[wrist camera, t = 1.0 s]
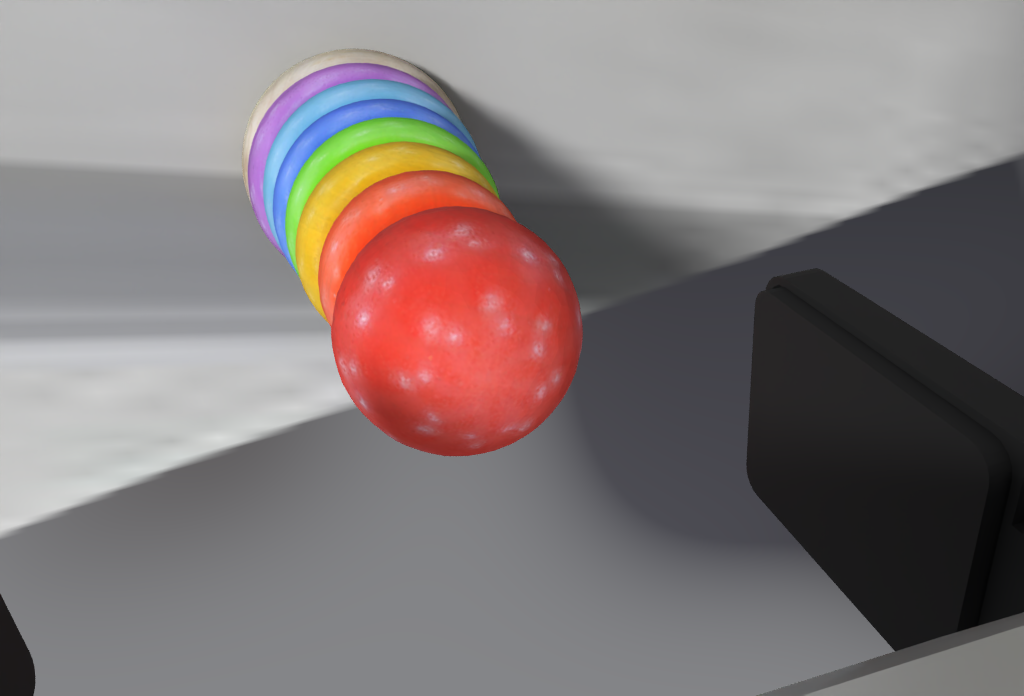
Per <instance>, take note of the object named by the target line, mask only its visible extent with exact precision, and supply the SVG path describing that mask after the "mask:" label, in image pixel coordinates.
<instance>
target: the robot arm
mask: <svg viewBox="0 0 1024 696" xmlns="http://www.w3.org/2000/svg"><path fill="white" fill-rule="evenodd" d="M751 373H752V374H751V391H750V410H749V427H748V446H747V474H748V478H749V481H750V484H751V486H752V488H753V490H754V492H755V493H756V494H757V496H758V497H759V498H760V499H761V500H762V501H763V502H764V503H765V505H766V506H767V507H768V508H769V509H770V510H771V511H772V513H773V514H774V515H775V516H776V517H777V518H778V519H779V521H780V522H781V523H782V524H783V525H784V526H785V527H786V528H787V529H788V531H789V532H790V533H791V534H792V535H793V536H794V538H795V539H796V540H797V541H798V542H799V543H800V544H801V545H802V546H803V548H804V549H805V550H806V551H807V552H808V553H809V554H810V556H811V557H812V558H813V559H814V560H815V561H816V562H817V564H818V565H819V566H820V567H821V568H822V569H823V570H824V571H825V572H826V573H827V575H828V576H829V577H830V578H831V579H832V580H833V582H834V583H835V584H836V585H837V586H838V587H839V588H840V590H841V591H842V592H843V593H844V594H845V595H846V596H847V597H848V598H849V600H850V601H851V602H852V603H853V604H854V605H855V606H856V608H857V609H858V610H859V611H860V612H861V613H862V614H863V615H864V617H865V618H866V619H867V620H868V621H869V622H870V623H871V625H872V626H873V627H874V628H875V629H876V630H877V631H878V632H879V633H880V635H881V636H882V637H883V638H884V639H885V640H886V641H887V643H888V644H889V645H890V646H891V647H892V648H893V649H894V650H895V652H892V653H889V654H886V655H883V656H880V657H877V658H873V659H870V660H867V661H864V662H861V663H858V664H855V665H851V666H848V667H845V668H842V669H839V670H835V671H833V672H829V673H826V674H823V675H820V676H817V677H813V678H811V679H807V680H804V681H801V682H798V683H794V684H791V685H789V686H785V687H782V688H779V689H776V690H772V691H769V692H766V693H763V694H760V695H757V696H1024V397H1023V396H1021V395H1020V394H1018V393H1017V392H1015V391H1013V390H1012V389H1010V388H1009V387H1007V386H1006V385H1004V384H1002V383H1001V382H999V381H997V380H996V379H994V378H993V377H991V376H990V375H988V374H986V373H985V372H983V371H982V370H980V369H979V368H977V367H975V366H974V365H972V364H970V363H969V362H967V361H966V360H964V359H963V358H961V357H960V356H958V355H956V354H955V353H953V352H952V351H950V350H948V349H947V348H945V347H944V346H942V345H940V344H939V343H937V342H936V341H934V340H932V339H931V338H929V337H928V336H926V335H925V334H923V333H921V332H920V331H918V330H917V329H915V328H913V327H912V326H910V325H909V324H907V323H905V322H904V321H902V320H901V319H899V318H898V317H896V316H894V315H893V314H891V313H890V312H888V311H886V310H885V309H883V308H882V307H880V306H878V305H877V304H875V303H874V302H872V301H871V300H869V299H867V298H866V297H864V296H863V295H861V294H859V293H858V292H856V291H855V290H853V289H851V288H850V287H848V286H847V285H845V284H844V283H842V282H840V281H839V280H837V279H836V278H834V277H832V276H831V275H829V274H828V273H826V272H824V271H823V270H820V269H817V268H816V269H810V270H805V271H801V272H796V273H791V274H786V275H782V276H777V277H773V278H772V279H771V280H770V281H769V283H768V285H767V287H766V291H761V292H760V293H759V294H758V296H757V298H756V303H755V317H754V334H753V353H752V372H751ZM34 689H35V669H34V664H33V660H32V657H31V655H30V652H29V650H28V648H27V646H26V644H25V642H24V640H23V638H22V636H21V634H20V632H19V630H18V628H17V626H16V624H15V622H14V620H13V618H12V616H11V614H10V612H9V610H8V608H7V606H6V604H5V602H4V600H3V598H2V596H1V594H0V696H33V694H34Z"/></svg>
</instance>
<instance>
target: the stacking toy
mask: <svg viewBox="0 0 1024 696" xmlns="http://www.w3.org/2000/svg"><path fill="white" fill-rule="evenodd" d="M242 169H243V178H244V183H245V187H246V191H247V194H248V197H249V200H250V202H251V204H252V207H253V210H254V212H255V215H256V217H257V220H258V222H259V224H260V226H261V228H262V229H263V231H264V233H265V234H266V236H267V237H268V239H269V240H270V241H271V243H272V244H273V245H274V246H275V247H276V248H277V249H278V251H279V252H280V253H281V254H282V255H283V256H284V257H286V258H287V260H288V262H289V263H290V265H291V266H292V268H293V269H294V270H295V272H296V273H297V274H298V276H299V277H300V279H301V282H302V285H303V287H304V290H305V292H306V294H307V295H308V297H309V299H310V301H311V302H312V304H313V305H314V307H315V308H316V310H317V311H318V312H319V313H320V315H321V316H322V317H323V318H324V319H325V320H326V321H327V322H328V323H329V324H330V326H331V337H332V347H333V352H334V357H335V361H336V365H337V368H338V372H339V375H340V377H341V380H342V383H343V385H344V387H345V388H346V390H347V392H348V394H349V395H350V397H351V399H352V400H353V402H354V403H355V405H356V406H357V407H358V409H359V410H360V411H361V412H362V413H363V414H364V415H365V416H366V417H367V418H368V419H369V420H370V421H371V422H372V423H373V424H374V425H376V426H377V427H378V428H379V429H380V430H382V431H383V432H384V433H386V434H387V435H388V436H390V437H391V438H393V439H394V440H396V441H398V442H400V443H402V444H404V445H406V446H409V447H412V448H414V449H417V450H420V451H424V452H428V453H432V454H437V455H443V456H469V455H476V454H481V453H486V452H490V451H494V450H497V449H500V448H502V447H505V446H507V445H510V444H512V443H514V442H516V441H517V440H519V439H521V438H523V437H524V436H526V435H527V434H529V433H530V432H532V431H533V430H534V429H536V428H537V427H538V426H539V425H540V424H541V423H542V422H544V420H545V419H546V418H547V417H548V416H549V415H550V414H551V413H552V412H553V410H554V409H555V408H556V407H557V405H558V404H559V403H560V402H561V400H562V398H563V397H564V395H565V394H566V392H567V390H568V388H569V386H570V384H571V382H572V379H573V377H574V375H575V372H576V368H577V364H578V360H579V356H580V352H581V347H582V337H583V329H582V319H581V312H580V305H579V301H578V298H577V294H576V291H575V288H574V285H573V283H572V281H571V278H570V276H569V274H568V272H567V270H566V268H565V267H564V265H563V264H562V262H561V260H560V259H559V258H558V257H557V255H556V254H555V253H554V252H553V251H552V250H551V248H550V247H549V246H548V245H547V244H546V243H545V242H544V241H543V240H542V239H541V238H539V237H538V236H537V235H536V234H535V233H533V232H532V231H530V230H529V229H527V228H526V227H524V226H523V225H521V224H519V223H517V222H516V220H515V218H514V217H513V215H512V214H511V212H510V211H509V209H508V208H507V207H506V206H505V205H504V204H503V202H502V201H501V200H500V198H499V194H498V190H497V188H496V185H495V182H494V180H493V178H492V176H491V174H490V172H489V170H488V169H487V167H486V166H485V164H484V163H483V161H482V160H481V158H480V156H479V153H478V151H477V148H476V146H475V143H474V141H473V139H472V137H471V136H470V134H469V132H468V131H467V129H466V128H465V126H464V125H463V124H462V122H461V119H460V117H459V115H458V113H457V111H456V109H455V107H454V106H453V104H452V102H451V101H450V99H449V98H448V97H447V95H446V94H445V93H444V91H443V90H442V89H441V88H440V87H439V85H438V84H437V83H435V82H434V81H433V80H432V79H431V78H430V77H429V76H428V75H426V74H425V73H424V72H423V71H421V70H420V69H418V68H417V67H415V66H413V65H412V64H410V63H408V62H406V61H405V60H402V59H400V58H397V57H395V56H392V55H389V54H386V53H383V52H378V51H373V50H365V49H342V50H335V51H330V52H326V53H322V54H318V55H316V56H313V57H311V58H308V59H306V60H304V61H302V62H300V63H298V64H296V65H294V66H293V67H291V68H290V69H288V70H287V71H285V72H284V73H283V74H282V75H281V76H279V77H278V78H277V79H276V80H275V81H274V82H273V83H272V84H271V85H270V86H269V87H268V88H267V90H266V91H265V92H264V94H263V95H262V97H261V98H260V99H259V101H258V103H257V104H256V106H255V108H254V110H253V112H252V114H251V117H250V119H249V122H248V125H247V129H246V132H245V137H244V143H243V152H242Z"/></svg>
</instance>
